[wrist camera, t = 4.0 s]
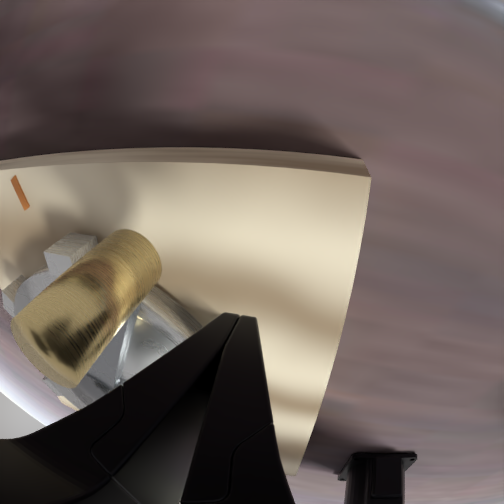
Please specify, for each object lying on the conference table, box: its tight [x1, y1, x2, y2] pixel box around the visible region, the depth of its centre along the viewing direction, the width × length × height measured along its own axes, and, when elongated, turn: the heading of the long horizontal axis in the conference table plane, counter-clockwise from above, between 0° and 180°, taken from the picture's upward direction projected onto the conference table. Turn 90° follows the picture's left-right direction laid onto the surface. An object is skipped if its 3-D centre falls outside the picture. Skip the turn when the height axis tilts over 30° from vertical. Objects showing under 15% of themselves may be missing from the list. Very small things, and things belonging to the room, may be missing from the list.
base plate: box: [0, 147, 371, 476], centre depth 19 cm, size 24×24×3 cm
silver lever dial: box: [2, 229, 203, 410], centre depth 14 cm, size 19×16×7 cm
